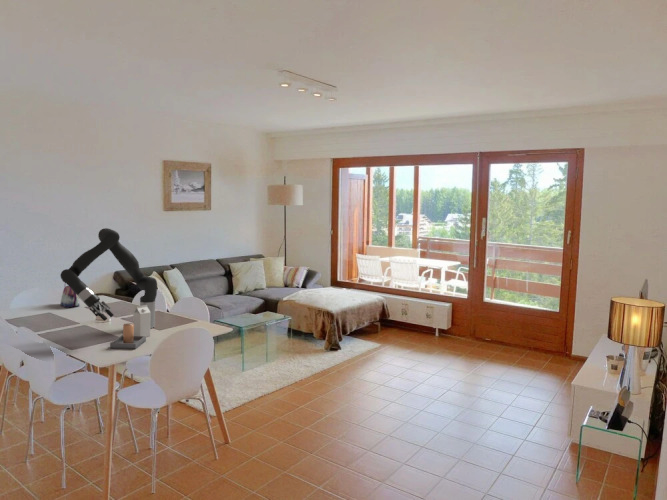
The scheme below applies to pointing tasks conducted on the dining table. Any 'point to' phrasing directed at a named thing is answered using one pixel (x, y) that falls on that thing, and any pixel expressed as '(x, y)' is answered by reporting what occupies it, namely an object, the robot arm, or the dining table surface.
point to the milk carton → (142, 321)
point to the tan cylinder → (128, 333)
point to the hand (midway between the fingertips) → (109, 317)
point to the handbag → (69, 298)
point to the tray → (120, 345)
